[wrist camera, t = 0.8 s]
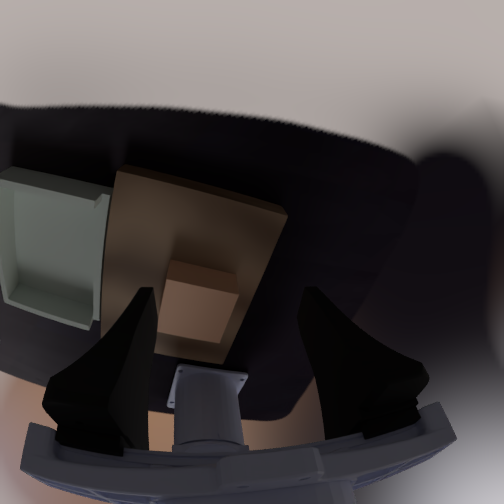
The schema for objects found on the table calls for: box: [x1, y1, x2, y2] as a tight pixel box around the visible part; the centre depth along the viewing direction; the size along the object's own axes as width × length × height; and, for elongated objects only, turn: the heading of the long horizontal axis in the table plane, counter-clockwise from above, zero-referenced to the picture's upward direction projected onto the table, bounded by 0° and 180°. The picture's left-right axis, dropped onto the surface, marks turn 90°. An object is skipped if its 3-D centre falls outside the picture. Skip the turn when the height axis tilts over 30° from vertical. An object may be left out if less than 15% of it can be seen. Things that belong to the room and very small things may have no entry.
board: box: [101, 164, 288, 364], centre depth 23 cm, size 16×12×2 cm
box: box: [0, 166, 114, 331], centre depth 19 cm, size 12×10×3 cm
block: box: [157, 259, 239, 343], centre depth 22 cm, size 5×5×2 cm
